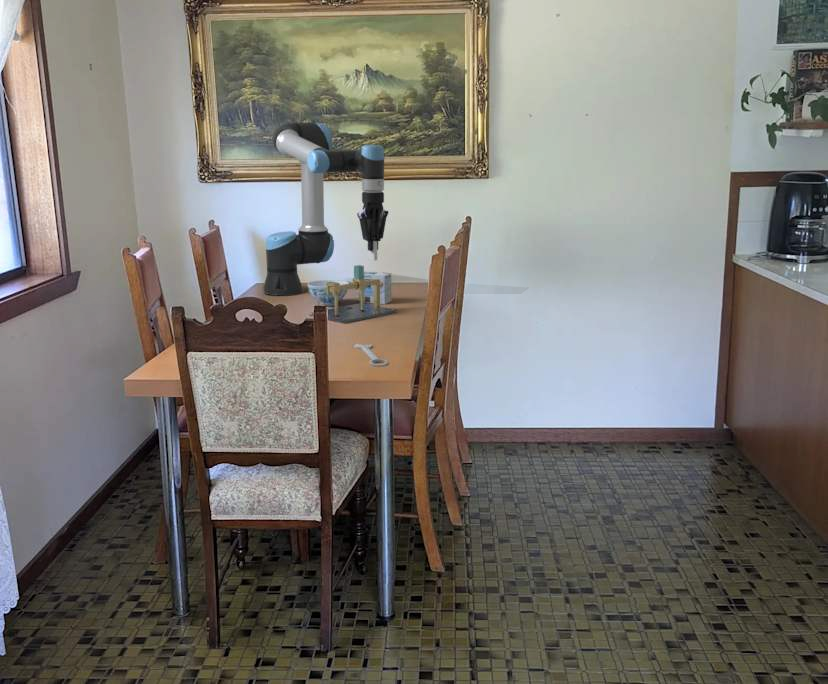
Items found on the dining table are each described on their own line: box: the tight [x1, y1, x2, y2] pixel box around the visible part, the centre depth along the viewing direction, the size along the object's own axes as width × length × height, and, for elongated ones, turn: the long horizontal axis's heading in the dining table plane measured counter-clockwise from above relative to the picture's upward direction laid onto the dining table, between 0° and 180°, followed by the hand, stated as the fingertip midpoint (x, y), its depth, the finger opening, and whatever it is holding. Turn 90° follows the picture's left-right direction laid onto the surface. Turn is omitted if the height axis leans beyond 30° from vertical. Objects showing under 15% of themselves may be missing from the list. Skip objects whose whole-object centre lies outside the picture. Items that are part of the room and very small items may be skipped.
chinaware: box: [307, 279, 349, 307], centre depth 312 cm, size 15×15×8 cm
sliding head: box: [352, 264, 366, 310], centre depth 295 cm, size 4×2×15 cm, turn 46°
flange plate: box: [311, 302, 397, 324], centre depth 295 cm, size 18×24×1 cm
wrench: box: [353, 343, 388, 367], centre depth 241 cm, size 25×2×5 cm
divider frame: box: [326, 279, 381, 316], centre depth 295 cm, size 4×22×11 cm, turn 136°
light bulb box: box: [358, 270, 393, 305], centre depth 316 cm, size 11×7×11 cm, turn 70°
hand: (373, 259), depth 299 cm, fingers closed
